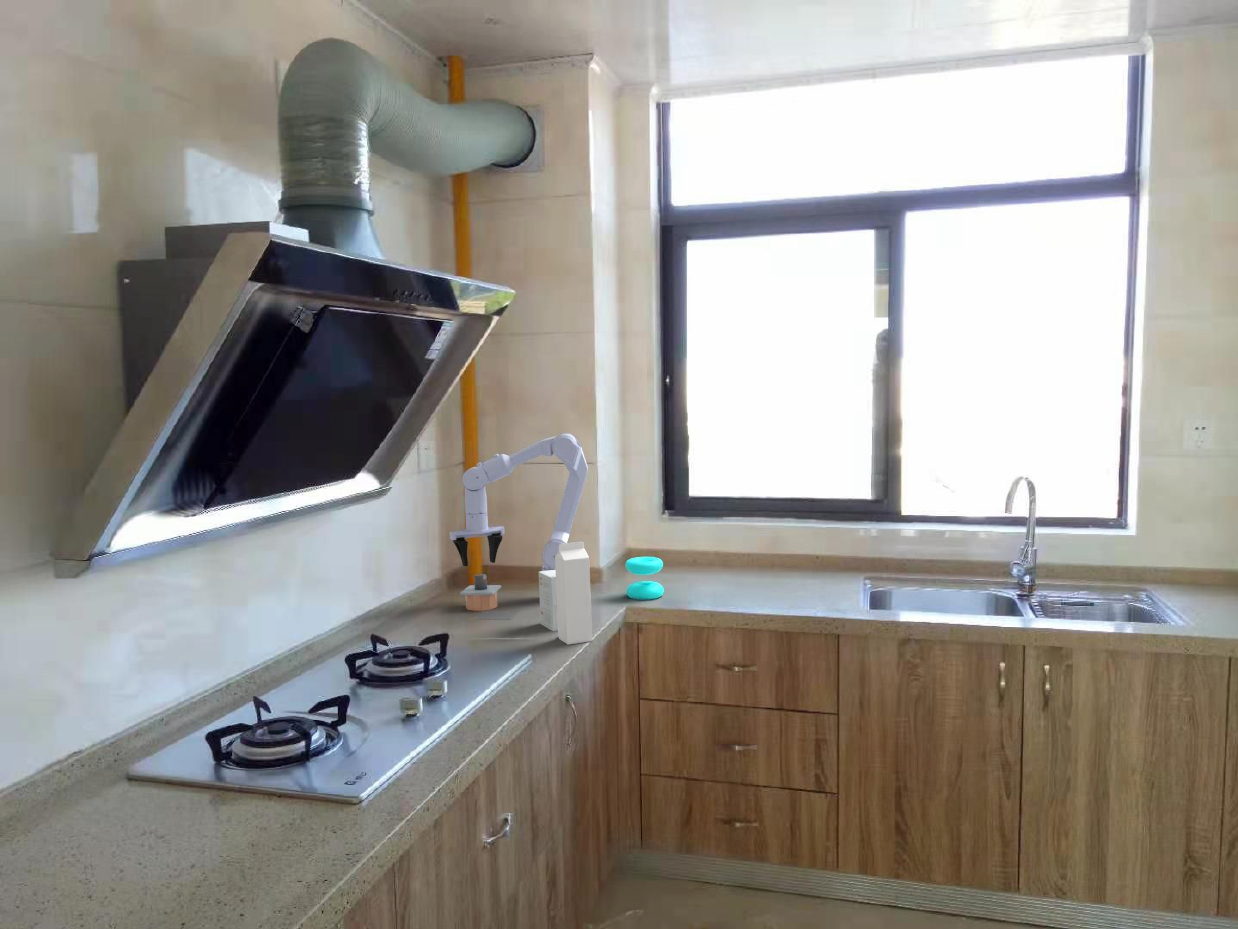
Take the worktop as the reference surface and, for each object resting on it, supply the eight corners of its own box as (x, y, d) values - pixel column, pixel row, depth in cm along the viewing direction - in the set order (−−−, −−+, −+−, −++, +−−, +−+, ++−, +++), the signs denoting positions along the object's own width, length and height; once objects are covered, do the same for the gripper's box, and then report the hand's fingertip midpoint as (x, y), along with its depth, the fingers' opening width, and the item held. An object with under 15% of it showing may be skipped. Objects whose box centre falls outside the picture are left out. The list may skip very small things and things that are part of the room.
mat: (519, 612, 239) (519, 610, 239) (510, 621, 230) (510, 619, 230) (485, 612, 241) (484, 610, 241) (474, 621, 232) (474, 619, 232)
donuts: (624, 563, 246) (625, 556, 256) (625, 601, 247) (626, 592, 257) (663, 562, 246) (662, 555, 256) (664, 600, 247) (663, 591, 257)
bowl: (500, 604, 248) (499, 587, 248) (492, 612, 240) (491, 594, 240) (471, 604, 249) (470, 587, 249) (462, 612, 242) (461, 594, 241)
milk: (592, 641, 210) (589, 543, 208) (566, 645, 208) (563, 546, 206) (582, 634, 216) (579, 539, 214) (557, 638, 214) (554, 541, 211)
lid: (501, 587, 248) (500, 572, 248) (492, 594, 240) (491, 578, 239) (470, 587, 249) (469, 572, 249) (460, 594, 241) (459, 579, 240)
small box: (577, 628, 221) (575, 573, 220) (552, 632, 219) (550, 577, 217) (564, 621, 229) (562, 568, 228) (539, 625, 226) (537, 571, 225)
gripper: (496, 508, 256) (499, 558, 257) (444, 514, 249) (447, 565, 250) (506, 511, 250) (508, 562, 251) (453, 516, 243) (456, 569, 244)
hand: (478, 564), depth 250 cm, fingers open, 7 cm apart
